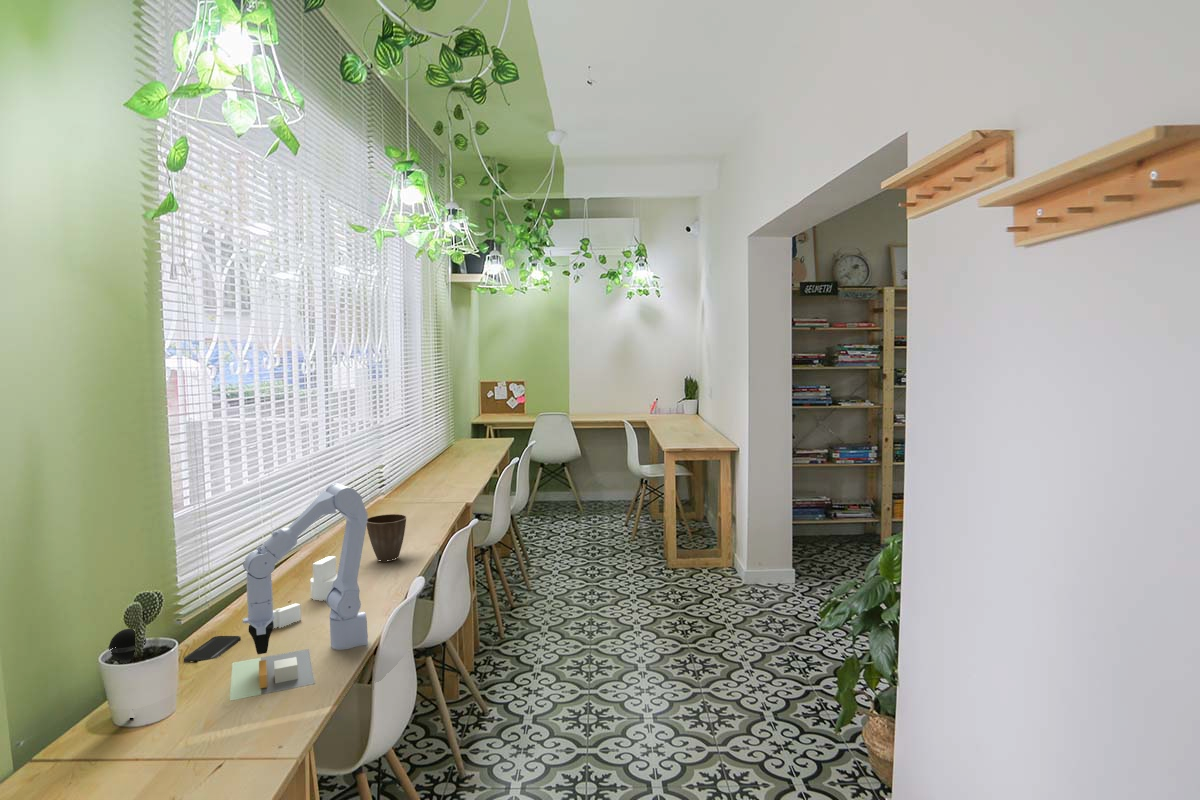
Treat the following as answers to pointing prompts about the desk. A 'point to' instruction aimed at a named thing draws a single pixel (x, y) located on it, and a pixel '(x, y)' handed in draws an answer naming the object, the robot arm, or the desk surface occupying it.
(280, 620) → the napkin holder
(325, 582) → the cylinder with rectangular tab
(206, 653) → the phone
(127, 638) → the black bowler hat
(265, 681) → the bar
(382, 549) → the plant pot
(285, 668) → the plug block
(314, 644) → the desk surface
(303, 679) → the green and grey board
